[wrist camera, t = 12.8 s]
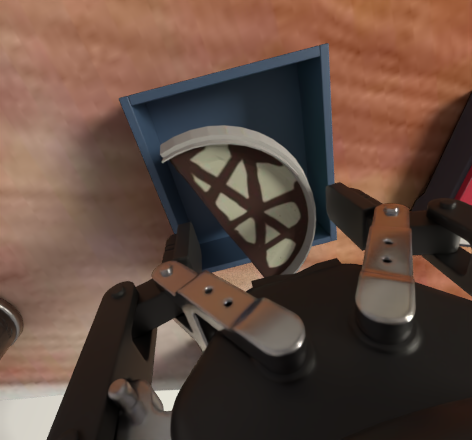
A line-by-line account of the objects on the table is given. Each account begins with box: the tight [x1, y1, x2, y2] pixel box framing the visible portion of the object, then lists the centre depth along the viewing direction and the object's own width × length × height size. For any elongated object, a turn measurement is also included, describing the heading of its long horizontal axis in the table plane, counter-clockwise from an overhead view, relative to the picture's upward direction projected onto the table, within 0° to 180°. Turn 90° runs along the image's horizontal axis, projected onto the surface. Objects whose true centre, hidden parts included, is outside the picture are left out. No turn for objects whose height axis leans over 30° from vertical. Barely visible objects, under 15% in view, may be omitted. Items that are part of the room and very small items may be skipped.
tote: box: [119, 43, 337, 273], centre depth 22 cm, size 14×15×5 cm
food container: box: [160, 125, 316, 278], centre depth 19 cm, size 12×6×10 cm, turn 33°
